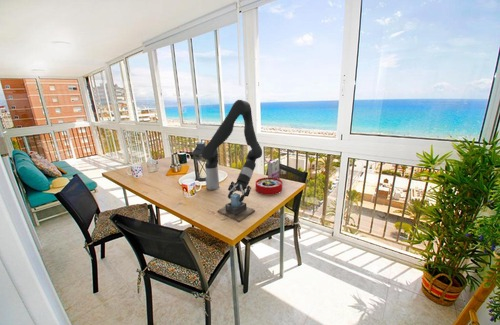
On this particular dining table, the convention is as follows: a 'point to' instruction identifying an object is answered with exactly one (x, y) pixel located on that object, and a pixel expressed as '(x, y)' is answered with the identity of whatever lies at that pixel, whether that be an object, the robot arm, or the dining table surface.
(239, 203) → the light blue square peg
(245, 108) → the robot arm
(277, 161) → the candy bar box
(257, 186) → the toy clock
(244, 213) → the cradle jig
